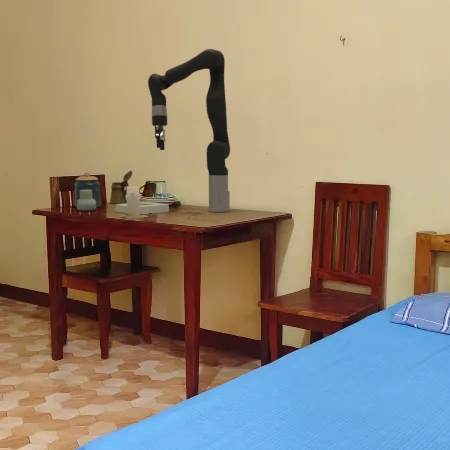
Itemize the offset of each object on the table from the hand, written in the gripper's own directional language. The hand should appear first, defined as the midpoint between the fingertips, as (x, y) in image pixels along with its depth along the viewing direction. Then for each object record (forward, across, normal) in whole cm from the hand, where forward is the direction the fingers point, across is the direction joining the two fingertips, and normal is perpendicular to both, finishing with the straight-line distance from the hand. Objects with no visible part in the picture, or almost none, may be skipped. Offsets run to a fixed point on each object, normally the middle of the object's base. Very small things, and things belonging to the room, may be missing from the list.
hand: (160, 148), depth 303 cm
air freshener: (+29, -7, +36) cm, 47 cm away
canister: (+26, +11, +41) cm, 50 cm away
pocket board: (+31, -9, +8) cm, 33 cm away
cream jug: (+33, -31, +8) cm, 46 cm away
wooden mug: (+25, +27, +27) cm, 46 cm away
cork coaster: (+34, -30, +8) cm, 46 cm away
